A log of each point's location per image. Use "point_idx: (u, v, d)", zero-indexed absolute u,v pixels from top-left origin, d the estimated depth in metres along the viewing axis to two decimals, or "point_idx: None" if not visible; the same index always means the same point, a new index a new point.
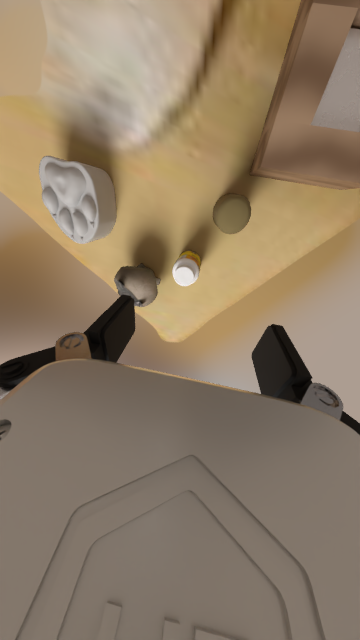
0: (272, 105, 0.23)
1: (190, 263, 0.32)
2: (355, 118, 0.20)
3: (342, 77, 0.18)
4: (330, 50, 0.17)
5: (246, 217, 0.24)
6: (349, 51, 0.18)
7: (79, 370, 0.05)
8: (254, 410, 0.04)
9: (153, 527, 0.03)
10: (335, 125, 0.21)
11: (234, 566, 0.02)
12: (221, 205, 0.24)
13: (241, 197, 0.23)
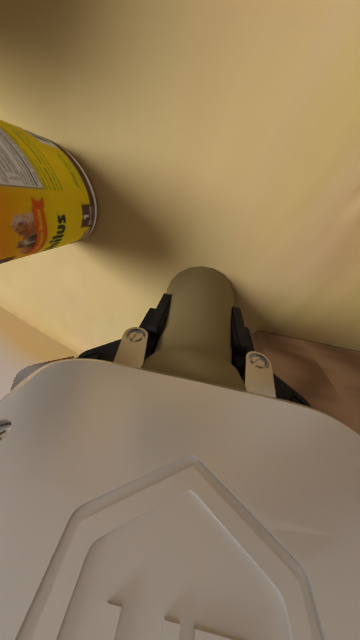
0: (350, 365, 0.13)
1: None
2: None
3: None
4: None
5: None
6: None
7: (79, 370, 0.05)
8: (254, 410, 0.04)
9: (153, 527, 0.03)
10: None
11: (234, 566, 0.02)
12: None
13: None
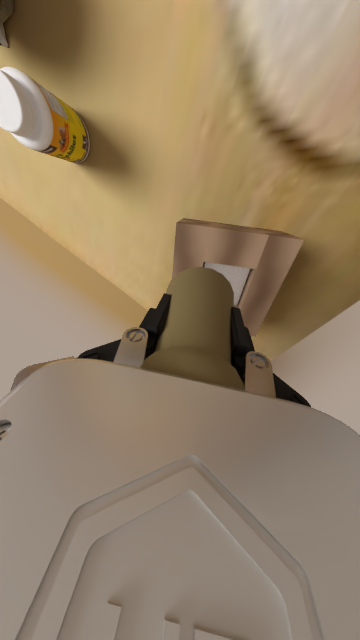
0: (227, 225, 0.25)
1: (42, 122, 0.17)
2: None
3: (228, 274, 0.25)
4: (241, 259, 0.22)
5: None
6: (239, 273, 0.25)
7: (79, 370, 0.05)
8: (255, 410, 0.04)
9: (153, 527, 0.03)
10: None
11: (234, 566, 0.02)
12: None
13: None
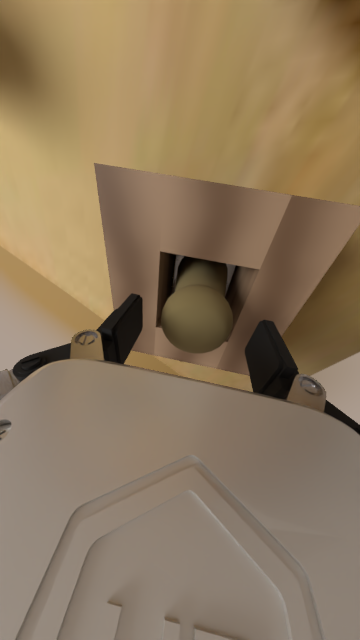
0: None
1: None
2: None
3: None
4: (232, 248, 0.11)
5: (191, 351, 0.12)
6: None
7: (79, 371, 0.05)
8: (255, 410, 0.04)
9: (153, 527, 0.03)
10: None
11: (234, 566, 0.02)
12: (217, 304, 0.10)
13: (225, 339, 0.11)
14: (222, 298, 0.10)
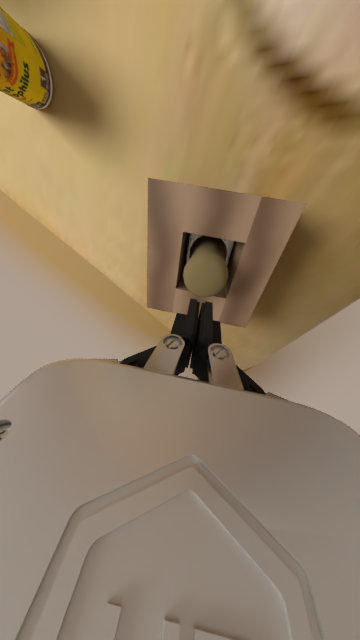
0: None
1: None
2: None
3: None
4: (228, 229, 0.18)
5: (202, 294, 0.19)
6: (225, 241, 0.25)
7: (79, 371, 0.05)
8: (255, 410, 0.04)
9: (153, 527, 0.03)
10: None
11: (234, 566, 0.02)
12: (218, 260, 0.17)
13: (223, 285, 0.18)
14: (221, 258, 0.17)
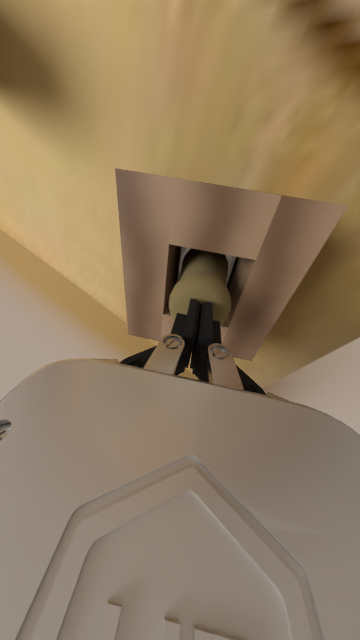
0: None
1: None
2: None
3: None
4: (231, 241, 0.13)
5: None
6: None
7: (79, 370, 0.05)
8: (255, 410, 0.04)
9: (153, 527, 0.03)
10: None
11: (234, 566, 0.02)
12: (217, 288, 0.12)
13: (225, 320, 0.13)
14: (222, 284, 0.12)
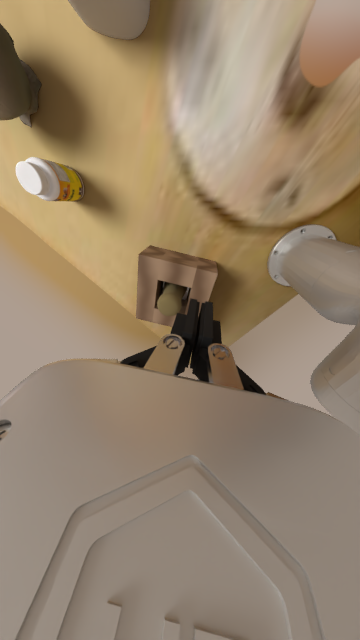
0: (178, 255, 0.36)
1: (53, 188, 0.27)
2: None
3: None
4: (181, 280, 0.34)
5: (167, 315, 0.34)
6: None
7: (79, 371, 0.05)
8: (255, 410, 0.04)
9: (153, 527, 0.03)
10: (164, 282, 0.42)
11: (234, 566, 0.02)
12: (175, 299, 0.32)
13: (178, 311, 0.34)
14: (177, 297, 0.33)
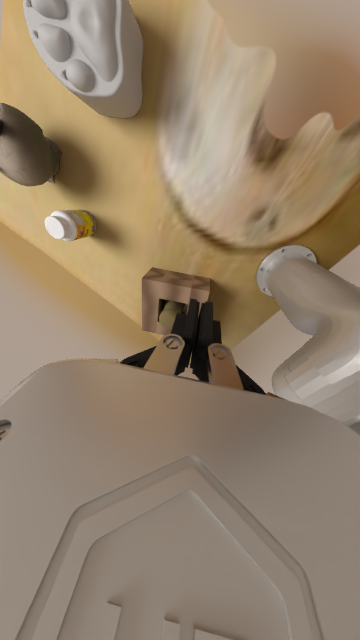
0: (176, 275, 0.42)
1: (72, 232, 0.34)
2: None
3: None
4: (179, 298, 0.39)
5: (168, 328, 0.40)
6: None
7: (79, 371, 0.05)
8: (255, 410, 0.04)
9: (153, 527, 0.03)
10: None
11: (234, 566, 0.02)
12: (173, 314, 0.38)
13: None
14: (175, 312, 0.39)
